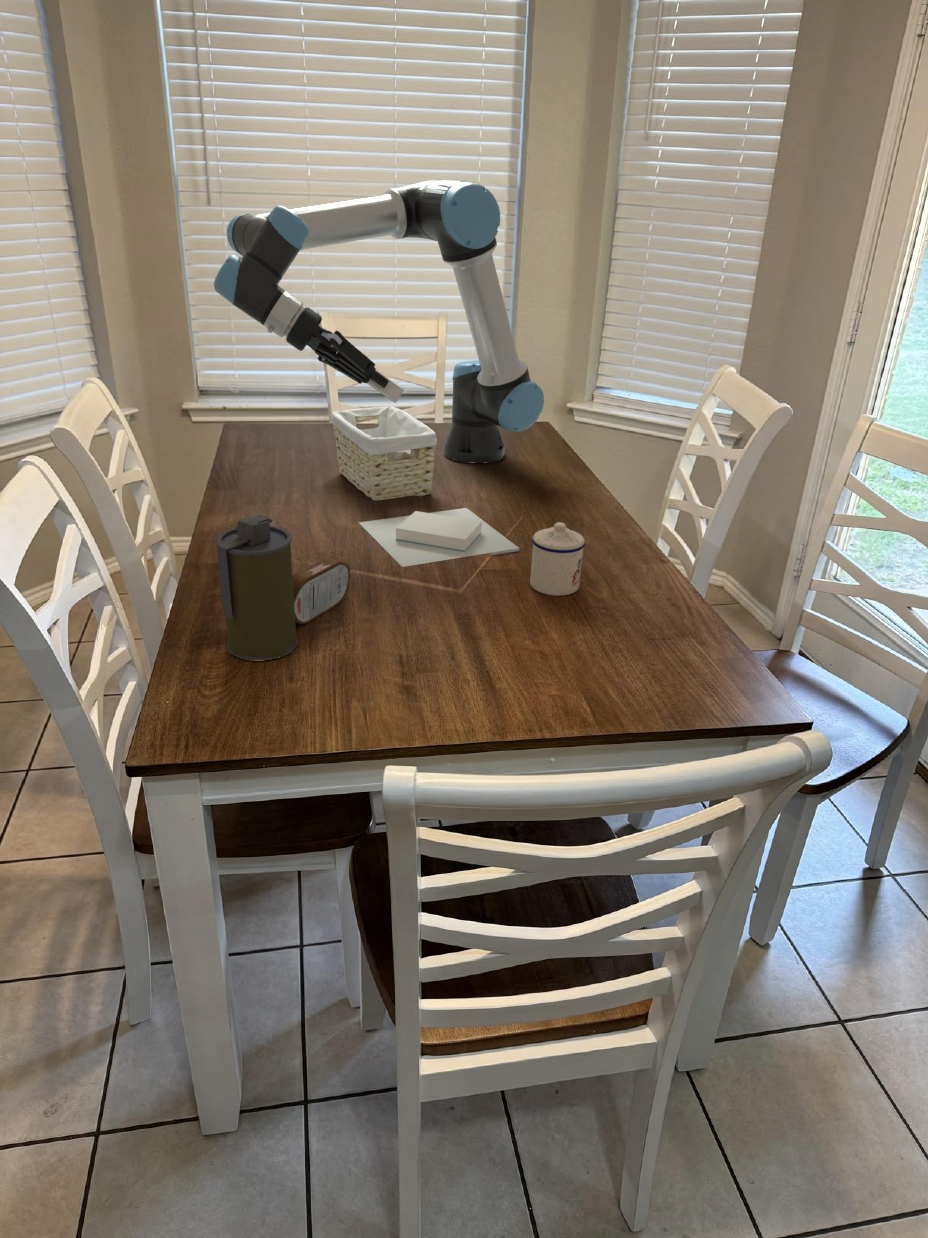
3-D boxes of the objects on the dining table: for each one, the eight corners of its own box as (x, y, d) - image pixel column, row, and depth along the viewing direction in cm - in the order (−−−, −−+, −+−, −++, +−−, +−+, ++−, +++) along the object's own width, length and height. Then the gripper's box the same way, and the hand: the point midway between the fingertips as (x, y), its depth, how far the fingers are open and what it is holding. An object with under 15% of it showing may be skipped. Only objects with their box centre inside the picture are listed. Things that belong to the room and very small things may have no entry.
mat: (466, 510, 186) (466, 507, 186) (518, 550, 168) (519, 548, 168) (358, 525, 176) (358, 522, 176) (402, 569, 158) (402, 566, 158)
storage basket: (438, 497, 193) (440, 431, 186) (369, 507, 186) (368, 438, 179) (395, 465, 212) (395, 404, 205) (331, 473, 205) (328, 410, 198)
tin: (339, 594, 149) (337, 548, 145) (354, 599, 147) (353, 552, 144) (279, 628, 137) (276, 580, 133) (294, 634, 136) (292, 585, 132)
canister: (267, 621, 139) (258, 502, 130) (312, 644, 133) (306, 520, 124) (210, 646, 131) (196, 521, 122) (255, 671, 126) (244, 541, 116)
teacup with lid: (583, 598, 151) (590, 534, 145) (530, 596, 151) (535, 533, 145) (575, 569, 161) (581, 509, 156) (526, 567, 161) (530, 507, 156)
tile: (395, 527, 168) (465, 539, 164) (415, 510, 176) (481, 521, 172) (395, 540, 169) (464, 551, 165) (415, 522, 177) (481, 533, 173)
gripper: (279, 348, 169) (381, 419, 176) (289, 327, 157) (398, 404, 164) (299, 317, 171) (400, 388, 178) (310, 294, 158) (418, 372, 165)
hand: (399, 396), depth 171 cm, fingers closed
